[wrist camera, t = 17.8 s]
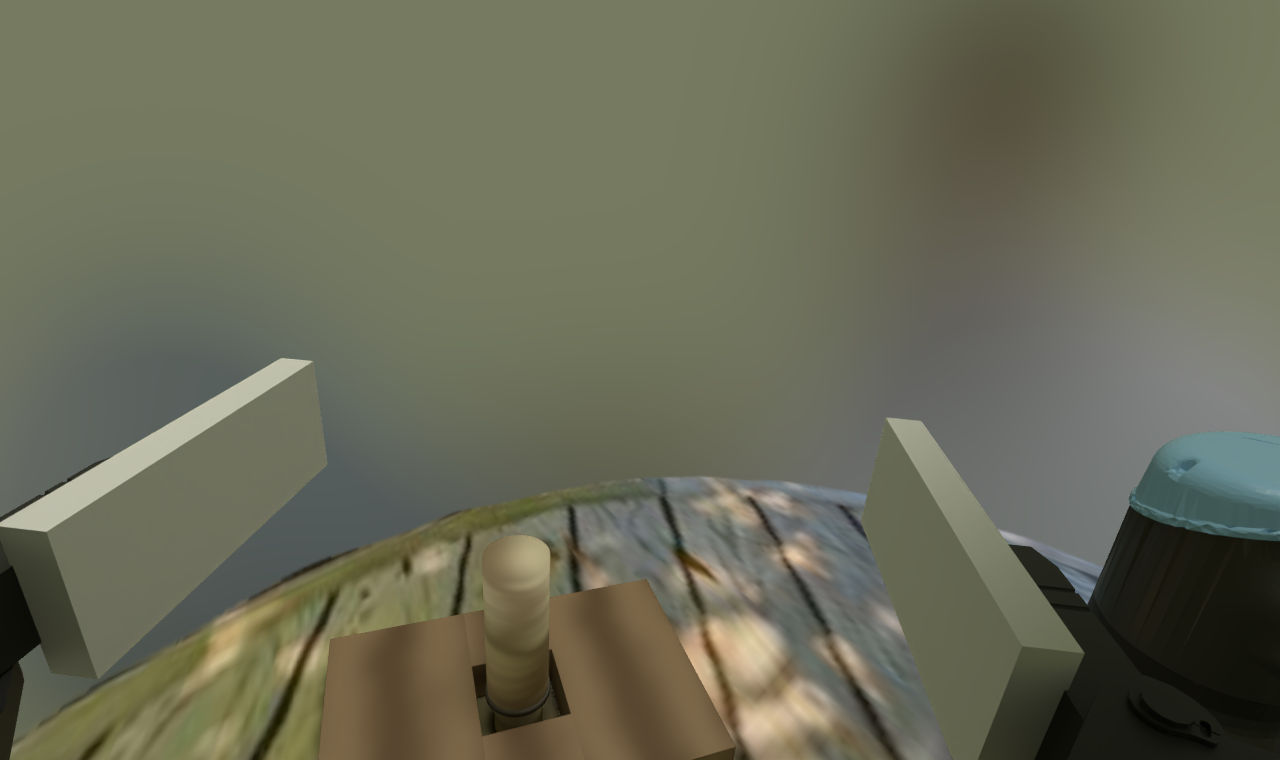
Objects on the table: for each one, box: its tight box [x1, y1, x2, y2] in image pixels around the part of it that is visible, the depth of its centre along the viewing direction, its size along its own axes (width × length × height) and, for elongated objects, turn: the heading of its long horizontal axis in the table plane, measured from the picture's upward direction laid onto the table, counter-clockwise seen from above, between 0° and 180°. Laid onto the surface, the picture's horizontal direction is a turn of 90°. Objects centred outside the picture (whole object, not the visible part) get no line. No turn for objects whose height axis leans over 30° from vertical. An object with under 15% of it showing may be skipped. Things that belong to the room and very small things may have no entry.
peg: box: [482, 535, 550, 733], centre depth 41 cm, size 4×4×14 cm
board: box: [318, 579, 736, 760], centre depth 44 cm, size 24×16×3 cm, turn 110°
